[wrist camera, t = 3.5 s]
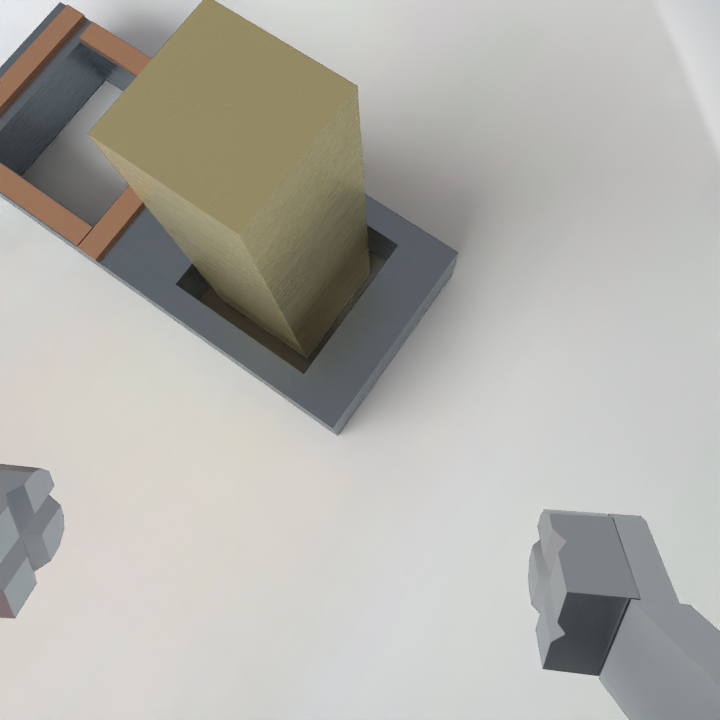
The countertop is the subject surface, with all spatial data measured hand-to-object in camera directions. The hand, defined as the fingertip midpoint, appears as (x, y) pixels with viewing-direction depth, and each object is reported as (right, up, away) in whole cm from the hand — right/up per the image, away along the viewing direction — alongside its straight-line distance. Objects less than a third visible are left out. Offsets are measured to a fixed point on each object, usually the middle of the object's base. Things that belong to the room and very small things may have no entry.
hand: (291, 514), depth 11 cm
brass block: (-1, +6, +16) cm, 17 cm away
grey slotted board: (-6, +8, +16) cm, 19 cm away
